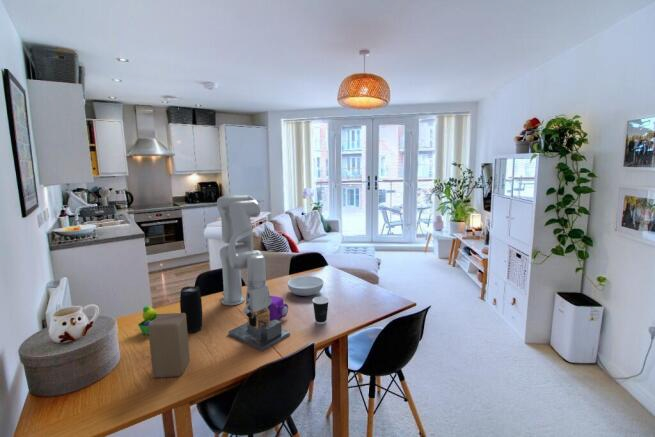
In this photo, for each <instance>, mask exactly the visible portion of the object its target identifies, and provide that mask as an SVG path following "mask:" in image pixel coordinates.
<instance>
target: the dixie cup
mask: <svg viewBox="0 0 655 437" xmlns="http://www.w3.org/2000/svg"><path fill="white" fill-rule="evenodd" d="M329 301H330V298H328V297H326V296H315V297H313V298H312V304H313V313H314V319H315V324H317V325H324V324H326V323H327V319H328V310H329Z"/></svg>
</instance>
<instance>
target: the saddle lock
mask: <svg viewBox="0 0 655 437" xmlns="http://www.w3.org/2000/svg"><path fill="white" fill-rule="evenodd" d="M248 312H249V310H248ZM251 314H252V312H251ZM254 318H255V328H257V329H260V321H262V322H265V323H268V322H270V315H269V310H267V309H262V310H260V311H257V312H255V314H254ZM247 322H248V325H249V317H248V316H247ZM250 326H251V325H250Z"/></svg>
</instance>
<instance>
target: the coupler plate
mask: <svg viewBox="0 0 655 437" xmlns="http://www.w3.org/2000/svg"><path fill="white" fill-rule="evenodd" d="M228 336H231V337H232V338H235V339H236V340H239V341H241V342H242V343H244V344H247V345H249V346H251V347H252V348H255V349H257V350H259V351H261V352H263V351H265V350H267V349H268V348H270V347H272V346H274V345H275V344H277V343H278V342H281V341H282V340H285V339H286V338H287V337H290V336H291V331H288V330H286V329H284V328H282V321H280V320H279V319H277V320H275V319H274V320H272V321H270V322H268V323H265V322H262V321H260V329H257V328H255V327H253V326H250V325H248V321H246V322H245V323H243V324H241V325H240V326H237V327H235V328H233V329H231V330H229V331H228Z"/></svg>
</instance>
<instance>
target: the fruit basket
mask: <svg viewBox="0 0 655 437" xmlns="http://www.w3.org/2000/svg"><path fill="white" fill-rule="evenodd" d="M159 314H160V313H157V311H156V310H155V309H154V308H152V307H151V306H149V305H145V306H144V307H143V309H142V318H143V320H142V321H141V322H139V323H138V324H137V327H139V328H140V331H141V333H142V335H146V334H149V330H148V327H149V325H150V323H151V322H152V321H153V320H154V319H155V318H156V317H157V316H158V315H159ZM144 333H145V334H144Z"/></svg>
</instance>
